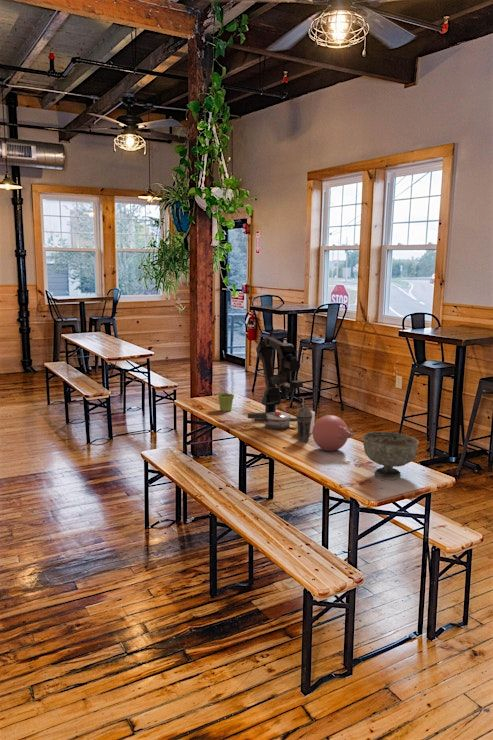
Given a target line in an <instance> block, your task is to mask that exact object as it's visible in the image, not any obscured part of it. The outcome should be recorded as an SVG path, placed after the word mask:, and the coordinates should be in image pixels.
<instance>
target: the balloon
mask: <svg viewBox="0 0 493 740" xmlns="http://www.w3.org/2000/svg"><path fill="white" fill-rule="evenodd" d="M351 437H354V431H353V429H351V428H350V429H349V428H348V426H347V424H346V422H345V421H344V420H343V419H342V418H341V417H339V416H336V415H331V414H328V415H327V414H326V415H324V416H323V415H322V417H320V418H319V419H317V420H316V422H314V427H313V431H312V439H313V441H314V443H315V445H316V446H317V447H319V448H320V449H322V450H324V451H327V452H328V451H329V452H335V451H338V450H340V449H341V448H343V446H345V444H346V443H347V442H348V440H349V439H351Z"/></svg>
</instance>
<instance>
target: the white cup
mask: <svg viewBox="0 0 493 740" xmlns="http://www.w3.org/2000/svg"><path fill="white" fill-rule="evenodd" d="M310 411H311V413H312V420H311V425H310V433H309V435H311V434H312V431H313V427H314V424H315V417H316V412H315V411H313V410H310Z"/></svg>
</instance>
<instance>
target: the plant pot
mask: <svg viewBox="0 0 493 740" xmlns="http://www.w3.org/2000/svg"><path fill="white" fill-rule="evenodd" d="M234 397H235V394H233V393H220V394H217V399H218V403H219V411H220V412H224V413H227V412H231V411H232V409H233V408H232V407H233V401H234Z"/></svg>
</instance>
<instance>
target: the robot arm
mask: <svg viewBox="0 0 493 740" xmlns="http://www.w3.org/2000/svg"><path fill="white" fill-rule="evenodd" d="M255 350H256V351H255V352H256V353H257V356H258V358H259V359H260V361H261V365H262V369H263V370H262V371H263V376H264V380H265V381H264V382H265V389H264V391H263V396H262V398H261V405H263V406H265V407H264V408H265V410H264V413H270V412H277V405H280V404H281V400H282V398H283V400H286V399H287V398H288V396H289V393H290V392H291V390H292V389H298V388H303V387H304V383H303V381H302V380H297V379H296V380H293V378H292V373H293V372H294V373H297V372H298V371H299V370H300V368H301V363H300V361H298V357H297V352H296V349H295V347H294V345H293V344H292V343H288V342H287V343H286V342H282V341H281V340H279V339H276V338H275V337H273V336H272V337H271V336H270V337H265V338H264V339H263V340H261V341H260V342H259V343H258V344H257V345H256V349H255ZM274 350H276V353H277V354H278V355H279V356H278V359H279V370H278V371H277V374H275V375H274V371H273V365H272V360H271V359H272V357H273V354H274V352H273V351H274Z"/></svg>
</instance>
